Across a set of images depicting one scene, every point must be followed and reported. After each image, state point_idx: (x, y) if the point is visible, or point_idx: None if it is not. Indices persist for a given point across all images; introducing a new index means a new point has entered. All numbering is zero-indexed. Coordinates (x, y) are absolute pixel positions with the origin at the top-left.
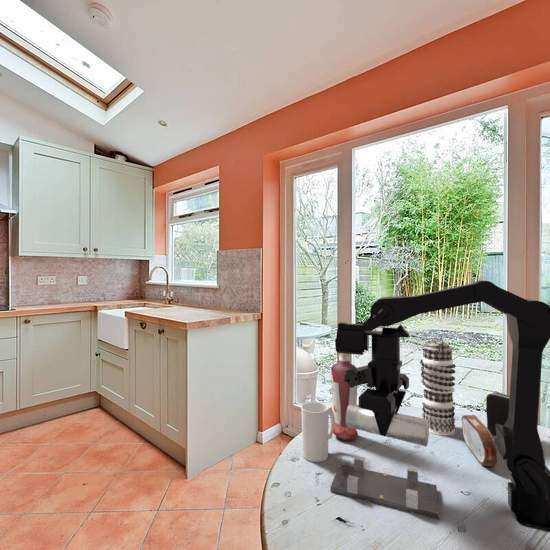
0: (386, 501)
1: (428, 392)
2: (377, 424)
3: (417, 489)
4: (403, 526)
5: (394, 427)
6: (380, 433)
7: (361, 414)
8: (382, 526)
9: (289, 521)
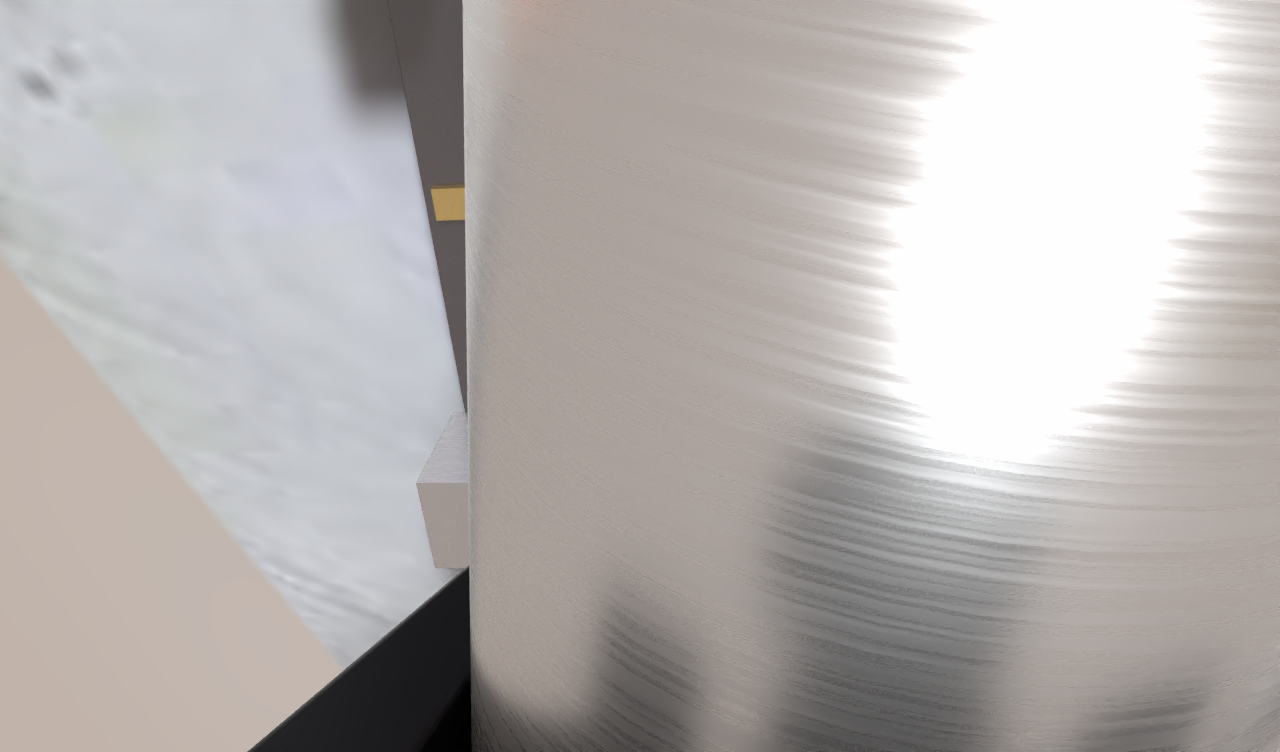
0: (436, 248)
1: None
2: (292, 724)
3: None
4: (289, 374)
5: None
6: (454, 590)
7: (514, 260)
8: (181, 229)
9: None
